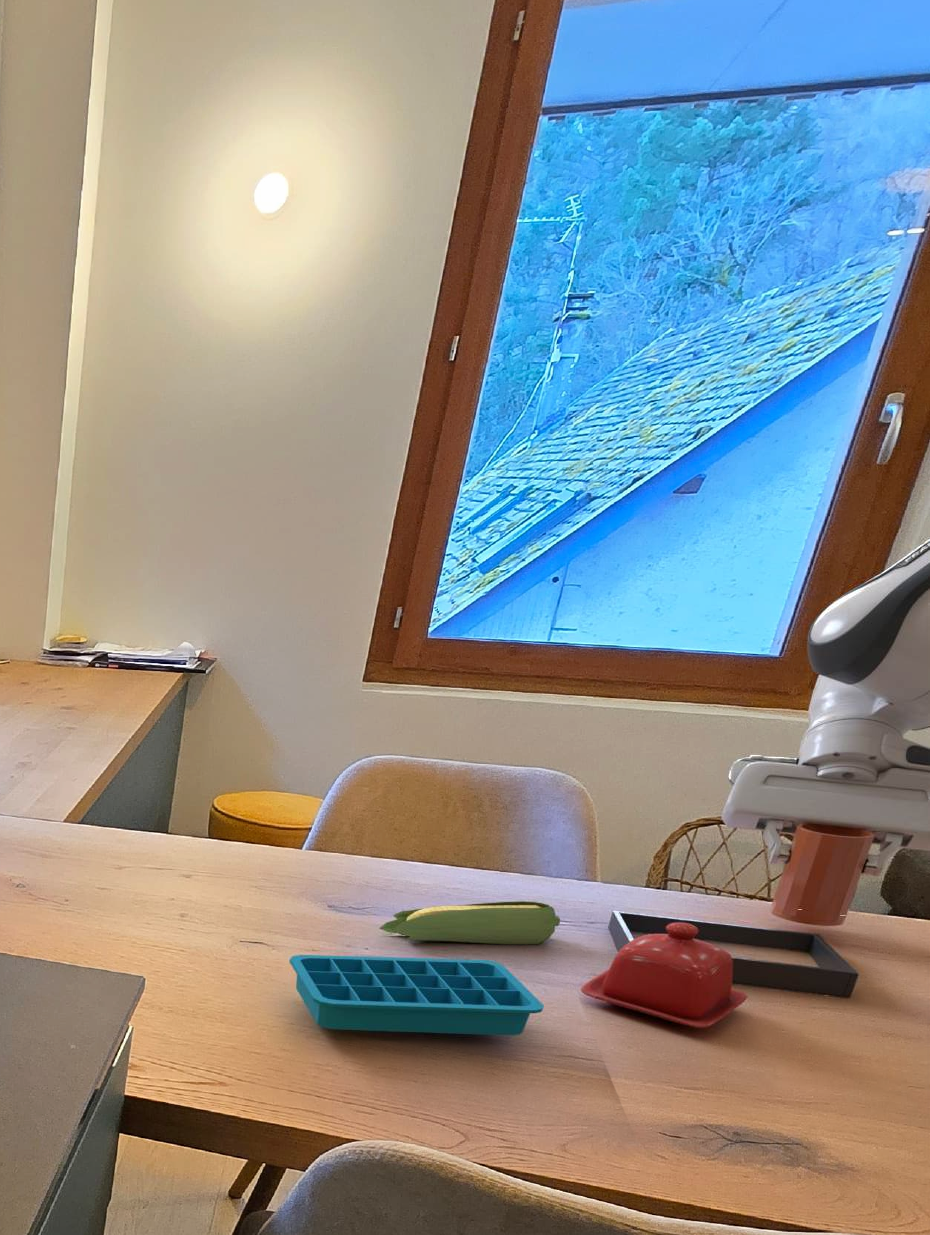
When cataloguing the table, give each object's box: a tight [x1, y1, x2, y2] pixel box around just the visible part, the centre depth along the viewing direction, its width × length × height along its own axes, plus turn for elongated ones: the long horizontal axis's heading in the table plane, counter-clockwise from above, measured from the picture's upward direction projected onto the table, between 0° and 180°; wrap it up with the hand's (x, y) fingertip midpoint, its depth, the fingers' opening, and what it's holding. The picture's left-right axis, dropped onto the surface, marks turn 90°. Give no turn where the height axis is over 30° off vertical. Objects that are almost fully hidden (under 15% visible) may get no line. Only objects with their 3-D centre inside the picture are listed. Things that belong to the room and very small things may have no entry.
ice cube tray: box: [289, 954, 545, 1036], centre depth 113 cm, size 12×20×3 cm, turn 83°
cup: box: [770, 823, 876, 927], centre depth 131 cm, size 7×7×10 cm
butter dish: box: [580, 922, 748, 1029], centre depth 114 cm, size 12×12×8 cm
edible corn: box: [378, 900, 561, 946], centre depth 133 cm, size 5×20×5 cm, turn 88°
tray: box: [607, 910, 860, 999], centre depth 126 cm, size 19×13×3 cm
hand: (824, 867), depth 130 cm, fingers closed on cup, 7 cm apart
